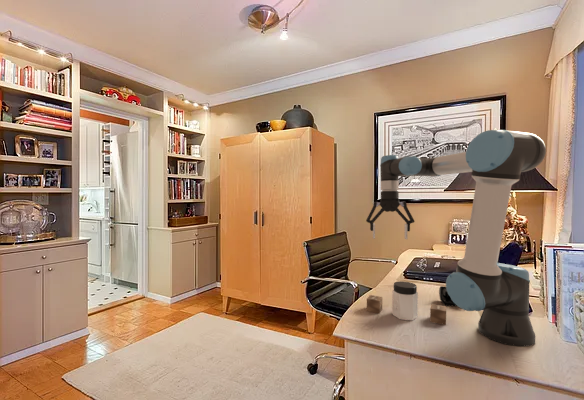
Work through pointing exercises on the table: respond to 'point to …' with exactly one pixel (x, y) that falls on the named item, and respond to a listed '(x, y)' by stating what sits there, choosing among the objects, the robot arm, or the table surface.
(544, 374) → the table surface
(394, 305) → the jar
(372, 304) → the walnut block
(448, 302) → the end cap
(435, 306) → the walnut block
